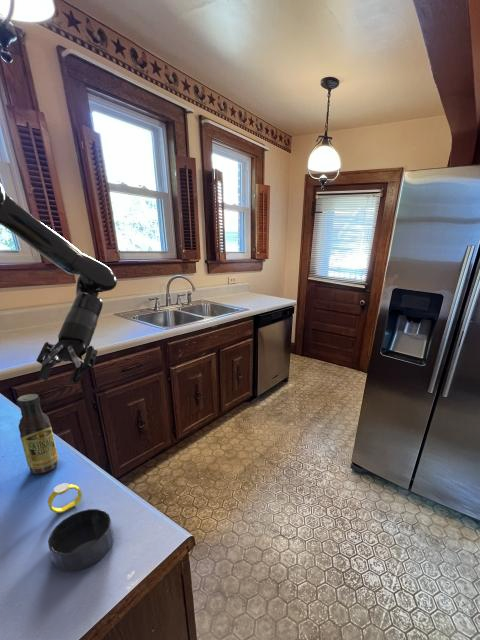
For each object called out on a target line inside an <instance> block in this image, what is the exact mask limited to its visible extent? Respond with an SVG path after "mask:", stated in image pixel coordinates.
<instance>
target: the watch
mask: <svg viewBox="0 0 480 640" xmlns="http://www.w3.org/2000/svg"><path fill="white" fill-rule="evenodd" d="M72 489H73V490H75V491H77V496H76V497H75V499H74V500H73V501H71V502H70V503H68V504H66V505H64V506H62V507H54V506H53V505H52V503H53V501H54V499H55V498H56V497H57V496H59V495H63V494H66V493H67V492H69V490H72ZM82 495H83V492H82V491H81V489H80V487H79V486H78V485H76V484H74V483H73V484H72V483H68V482H62V483H59V484H57V485H56V486H55V487H54V488H53V491H52V493H50V495H49V497H48V500H47V504H48V507H49V510H50V511H52V512H53V513H56V514H63V513H65V512H66V511H69V510H70V509H72V508H74V507H75V506H78V504H79V503H80V502H81V499H82Z"/></svg>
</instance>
